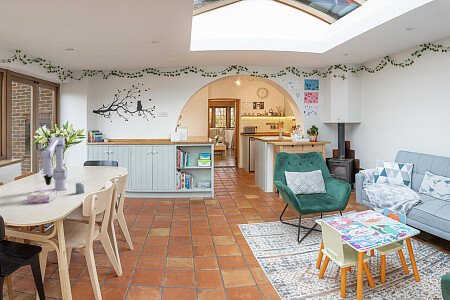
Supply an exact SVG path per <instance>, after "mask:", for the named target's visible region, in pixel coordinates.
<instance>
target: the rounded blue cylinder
mask: <svg viewBox="0 0 450 300" xmlns="http://www.w3.org/2000/svg"><path fill="white" fill-rule="evenodd" d="M75 194H76V195H83V194H85V182H75Z"/></svg>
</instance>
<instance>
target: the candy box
mask: <svg viewBox="0 0 450 300" xmlns="http://www.w3.org/2000/svg"><path fill="white" fill-rule="evenodd" d="M57 193H58V191H57V190H55V189H47V190H43V189H42V190H35V191H33V192H31V193H29V194H28V195H27V196H26V197H27V204H42V203H43V204H44V203H45V204H46V203H50V202H52V201H53V200H55V199H56V198H57V197H58V196H57V195H58V194H57Z"/></svg>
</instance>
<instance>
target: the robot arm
mask: <svg viewBox="0 0 450 300" xmlns="http://www.w3.org/2000/svg"><path fill="white" fill-rule="evenodd" d="M65 145H66V140H65V138H64V137H50V138H49V145H47V147H46V148H45V149H44V150H43V151H41V153H40V154H41V155H40V157H41V161H42V172H41V175H43V176H42V177H43V179H44V181H45V184H46V186H50V185H51V182H52V178H53V179H54V188H53V190H57V192H58V191H65V190H67V188H66V178H68V170H67V168H65V167H64V164H63V163H64V160H63V159H64V158H63V151H64V150H63V148H65ZM54 152H55V155H56V156H55V161H56V163H55V165H56V166H55V168H53V167H52V166H53V164H52V163H53V162H52V161H53V160H52V159H53V156H54Z"/></svg>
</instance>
